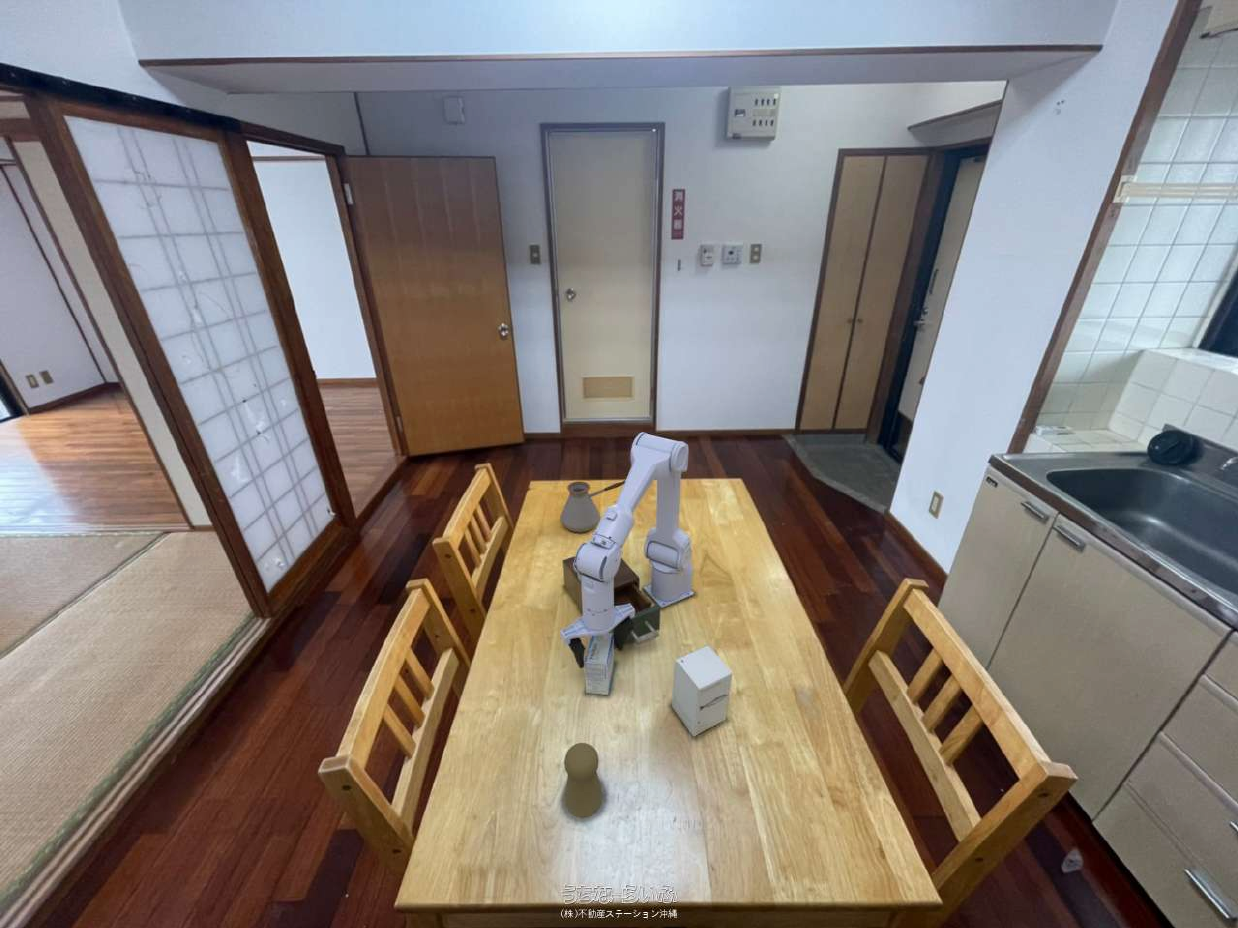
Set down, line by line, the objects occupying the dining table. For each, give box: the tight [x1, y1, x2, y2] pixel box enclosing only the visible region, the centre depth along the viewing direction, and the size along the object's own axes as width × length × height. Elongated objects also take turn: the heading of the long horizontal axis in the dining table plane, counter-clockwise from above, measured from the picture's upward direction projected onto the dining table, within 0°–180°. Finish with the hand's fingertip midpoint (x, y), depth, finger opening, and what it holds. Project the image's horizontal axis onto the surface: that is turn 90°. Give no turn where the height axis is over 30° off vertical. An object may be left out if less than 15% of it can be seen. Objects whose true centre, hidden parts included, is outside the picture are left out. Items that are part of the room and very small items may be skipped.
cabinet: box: [562, 555, 640, 613], centre depth 122 cm, size 15×13×8 cm
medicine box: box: [583, 633, 615, 696], centre depth 100 cm, size 8×4×9 cm, turn 172°
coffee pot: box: [559, 479, 626, 534], centre depth 147 cm, size 21×12×15 cm, turn 92°
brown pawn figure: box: [563, 742, 604, 819], centre depth 80 cm, size 6×6×11 cm
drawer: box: [608, 583, 661, 650], centre depth 112 cm, size 18×11×6 cm, turn 29°
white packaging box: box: [671, 644, 733, 737], centre depth 92 cm, size 7×7×13 cm
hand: (599, 655), depth 99 cm, fingers closed on medicine box, 7 cm apart
